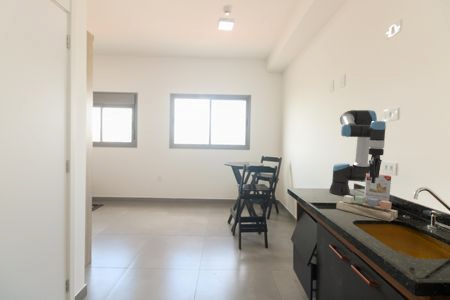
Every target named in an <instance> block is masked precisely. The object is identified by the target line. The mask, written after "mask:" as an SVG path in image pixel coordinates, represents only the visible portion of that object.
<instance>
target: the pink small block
mask: <svg viewBox="0 0 450 300" xmlns="http://www.w3.org/2000/svg"><path fill="white" fill-rule="evenodd" d="M392 203H393V202H392V201H390V200H389V201H384V200H383V201H380V208H383V209H384V210H383V211H384V212H387V209H388V210H389V209H392Z"/></svg>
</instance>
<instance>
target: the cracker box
mask: <svg viewBox="0 0 450 300" xmlns="http://www.w3.org/2000/svg"><path fill="white" fill-rule="evenodd" d="M378 177H379V178H377V188H376V189H372V188H371V177H370V174H367V173H366V181H365V182H364V195H363V197H366V201H365V203H364V204H367V199H369V198H373V199H378V207H380V201H383V200H384V201H389V202H390V197H391V196H390V194H391V187H392V186H391V184H392V183H391V182H392V176H390V175H389V174H379V176H378Z"/></svg>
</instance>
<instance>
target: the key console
mask: <svg viewBox="0 0 450 300" xmlns="http://www.w3.org/2000/svg"><path fill="white" fill-rule="evenodd" d="M370 207H371V206H369V205H367V204H362V206H358V203H355V200H354V202H353V203H350V204H348V203H347V202H343V200H339V201H336V208H335V209H336V210H341V211H345V212H349V213H352V214H357V215H361V216H365V217H370V218H374V219H378V220H382V221H385V222H391V221H393V220H395V219H397V218H398V214H399V211H398V210H397V209H392V208H391V209H389V210H388V209H387V212H384V211H383V210H384V209H383V208H380V207H378V206H375V207H374V209H371V208H370Z"/></svg>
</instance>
